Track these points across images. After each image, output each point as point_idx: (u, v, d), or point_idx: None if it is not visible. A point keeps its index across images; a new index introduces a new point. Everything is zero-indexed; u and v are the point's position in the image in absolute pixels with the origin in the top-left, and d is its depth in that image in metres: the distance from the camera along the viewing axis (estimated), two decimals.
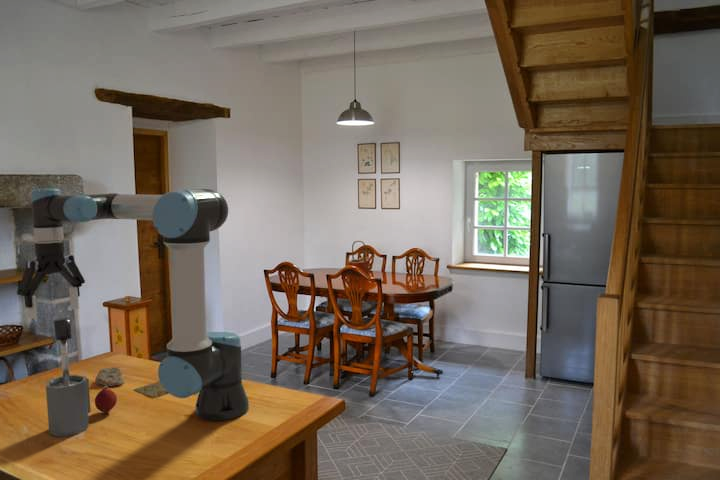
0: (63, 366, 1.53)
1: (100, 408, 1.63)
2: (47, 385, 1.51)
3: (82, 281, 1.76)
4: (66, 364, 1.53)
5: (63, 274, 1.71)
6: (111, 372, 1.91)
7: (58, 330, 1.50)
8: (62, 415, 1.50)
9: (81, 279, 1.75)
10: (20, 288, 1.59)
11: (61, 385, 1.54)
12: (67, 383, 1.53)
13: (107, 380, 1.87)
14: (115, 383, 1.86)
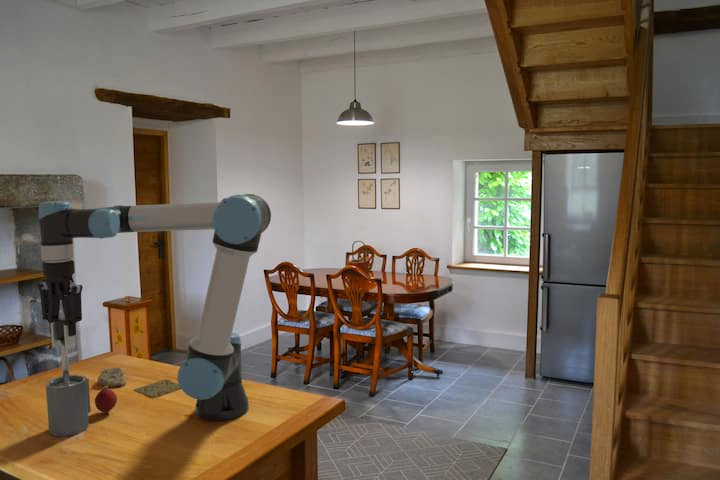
0: (63, 366, 1.53)
1: (100, 408, 1.63)
2: (47, 385, 1.51)
3: (71, 319, 1.49)
4: (66, 364, 1.53)
5: None
6: (113, 372, 1.90)
7: (58, 330, 1.50)
8: (62, 415, 1.50)
9: (72, 317, 1.49)
10: None
11: (61, 385, 1.54)
12: (67, 383, 1.53)
13: (109, 380, 1.86)
14: (117, 384, 1.86)
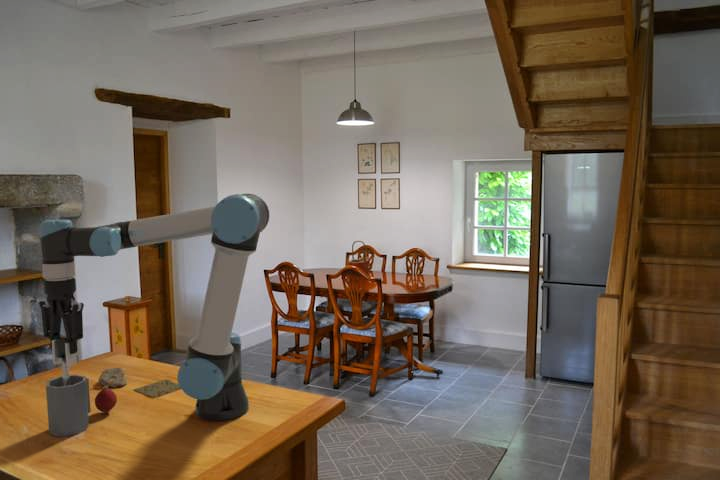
0: (64, 383, 1.53)
1: (100, 408, 1.63)
2: (47, 385, 1.51)
3: (73, 337, 1.50)
4: (67, 381, 1.53)
5: None
6: (114, 373, 1.90)
7: (59, 348, 1.51)
8: (62, 415, 1.50)
9: (73, 335, 1.49)
10: None
11: None
12: None
13: (110, 380, 1.86)
14: (117, 384, 1.86)
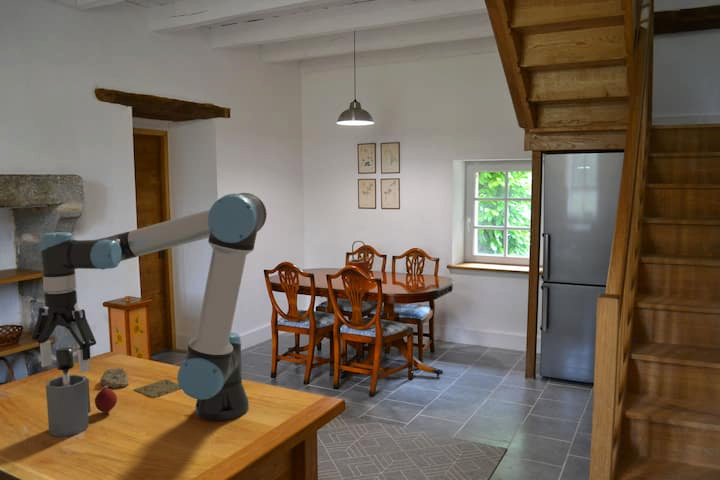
0: None
1: (100, 408, 1.63)
2: (47, 385, 1.51)
3: (86, 344, 1.48)
4: None
5: None
6: (116, 373, 1.90)
7: (60, 360, 1.51)
8: (62, 415, 1.50)
9: (85, 341, 1.48)
10: None
11: None
12: None
13: (111, 381, 1.86)
14: (119, 384, 1.85)
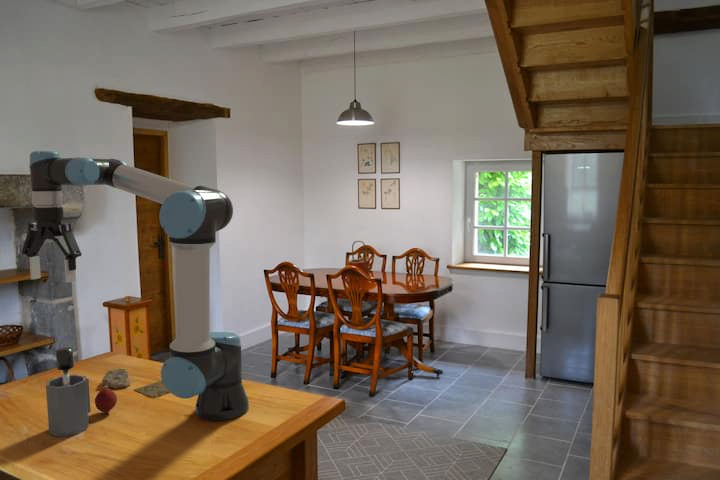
0: None
1: (100, 408, 1.63)
2: (47, 385, 1.51)
3: (71, 254, 1.59)
4: None
5: None
6: (118, 374, 1.89)
7: (60, 360, 1.51)
8: (62, 415, 1.50)
9: (71, 252, 1.59)
10: None
11: None
12: None
13: (113, 381, 1.85)
14: (120, 385, 1.85)
